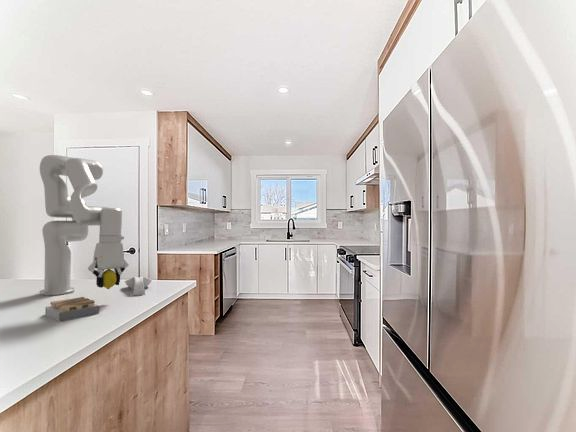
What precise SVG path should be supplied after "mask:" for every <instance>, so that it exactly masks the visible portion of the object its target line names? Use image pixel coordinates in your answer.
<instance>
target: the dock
mask: <svg viewBox="0 0 576 432" xmlns="http://www.w3.org/2000/svg"><path fill="white" fill-rule="evenodd" d="M44 311H45V312H44V313H45V315H46V316H47V317H49V318H51V319H54V320H56V321H57V322H64V321H69V320H74V319H78V318H82V317H86V316H87V317H88V316H93V315H97V314H100V305H98V304H95V303H94V306H92V307H86V306H83V305H82V309H77V310H76V309H73V308H70V311H67V312H62V311H59V310H57V309H55V308H52V307H51V305H50V306H45V310H44Z"/></svg>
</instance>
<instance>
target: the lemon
mask: <svg viewBox="0 0 576 432" xmlns="http://www.w3.org/2000/svg"><path fill="white" fill-rule="evenodd" d="M102 277H103V287H102V288H105V289H107V290H110V289H111V288H112V287H114V286H116V285H115V283H116V273H115V270H113V269H105V270H104V272H103V274H102Z"/></svg>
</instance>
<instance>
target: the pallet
mask: <svg viewBox="0 0 576 432" xmlns="http://www.w3.org/2000/svg"><path fill="white" fill-rule="evenodd" d="M95 302H96V301H95V300H94V299H90V298H88V297H87V298H86V297H84V296H79V297H72V298H66V299H61V300H56V301H50V306H51V307H52V308H55V309H57V310H59V311H62V312H67V311H70V308H73V309H76V310H77V309H82V305H83V306H86V307H92V306H94V304H95Z"/></svg>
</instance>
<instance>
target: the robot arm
mask: <svg viewBox="0 0 576 432" xmlns="http://www.w3.org/2000/svg"><path fill="white" fill-rule="evenodd" d="M39 173H40V178H41V181H42V183H43V189H44V205H45V206H44V207H45V213H46V215H47V216H49V217H51V218H61V219H63V218H65V219H71V220H50V221H48V222H46V223H44V225H43V226H42V231H41V232H42V236H43V237H42V238H43V244H44V285H43V289H42V290H40V291H39V294H40V295H41V296H59V295H65V294H71V293H73V292H74V291H75V287H72V286H71V274H72V271H71V270H72V252H71V248H70V247H69V246H68V245H67V243H69V242H70V243H71V242H82V241H84V240H86V239H87V238H88V236H89V235H88V234H89V226H91V227H92V226H99V232H98V233H99V235H98V238H99V239H98V242H97V243H96V244H95V248H94V251H93V252H94V253H93V260H92V263H91V264H90V265H89V266H88V267H87V270H88V271H89V272H91V274H93V275H94V276H95V277H96V286H97V288H101V289H102V288H104V287H103V277H102V274H103V272H104V271H105V270H108V269H110V270H113V269H114V270H113V271H114V272H115V273H116V283H115V285H114V286H119V285H120V282H121V275H122V273H123V272H125V270H126V269H127V268H128V267H129V263H128V262H127V261H126V260H125V253H124V252H125V251H124V245H123V242H122V241H123V240H124V239H125V236H123V235H122V225H123V224H122V223H123V222H122V221H123V211H122V209H121V208H116V207H107V206H89V205H87V203H86V202H85V200H84V198H86V197H89V196H92V195H93V194H95V193H96V191H97V190H98V184H97V182H96V181H97V180H100V179H101V178H102V177H103V174H104V168H103V166H102V164H100V162H99V161H96V160H93V159H85V158H79V157H69V156H66V155H64V156H63V155H57V154H50V155H46V156H45V155H44V157H42V158H41V160H40V163H39ZM61 176H64V177H68V180H69V182H70V185H71V187H72V188H73V192H72V194H71V195H70V196H69V193H68V189H69V188H68V186H67V184H66V182H65V181H64V179H63V178H62V177H61Z"/></svg>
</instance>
